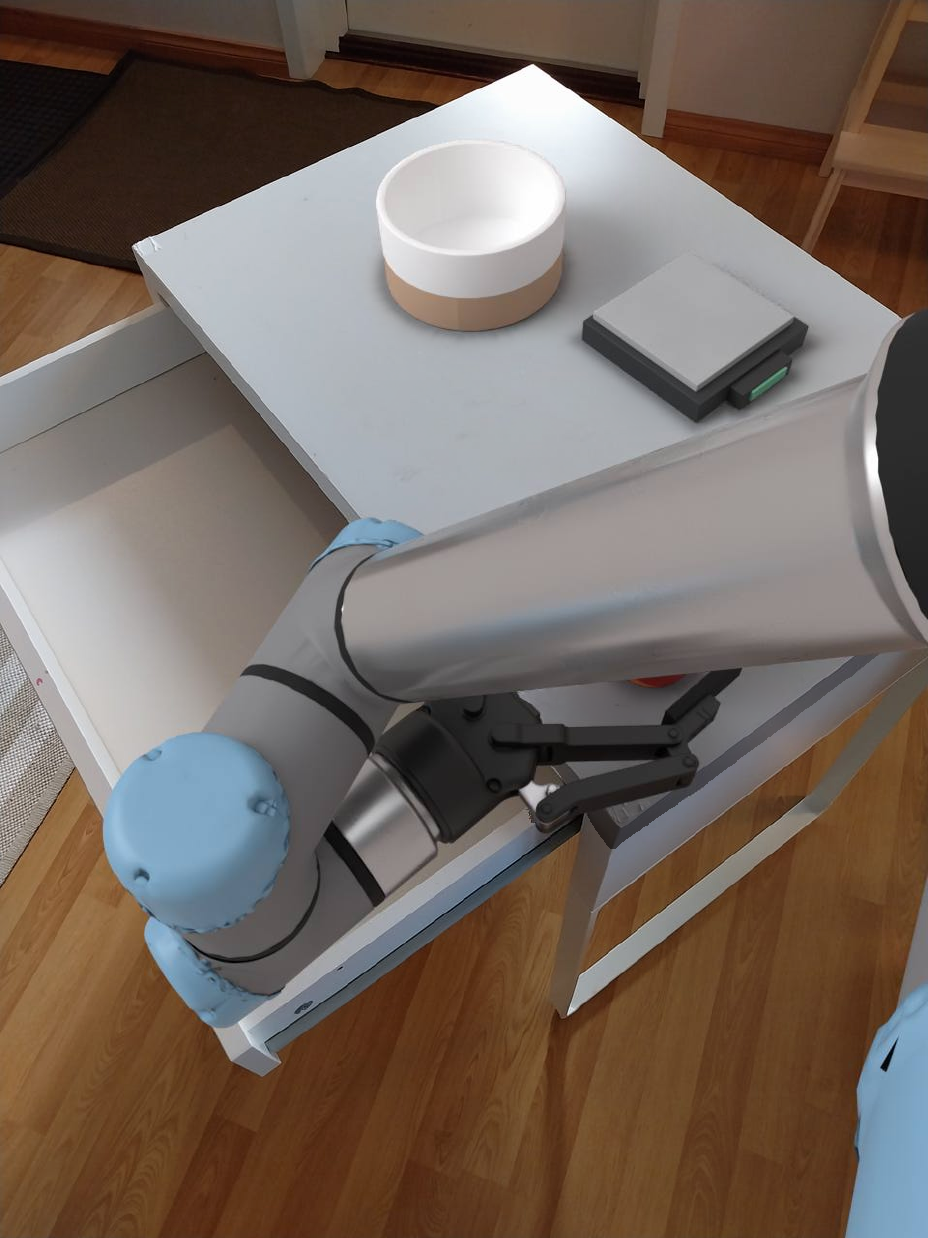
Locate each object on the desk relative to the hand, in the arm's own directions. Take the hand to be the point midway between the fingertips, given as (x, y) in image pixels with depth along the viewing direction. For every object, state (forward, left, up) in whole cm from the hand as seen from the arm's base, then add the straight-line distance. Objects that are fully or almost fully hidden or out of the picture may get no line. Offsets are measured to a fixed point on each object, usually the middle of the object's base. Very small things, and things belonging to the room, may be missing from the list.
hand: (659, 593), depth 61 cm
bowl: (+41, -19, -9) cm, 46 cm away
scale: (+20, -27, -8) cm, 34 cm away
